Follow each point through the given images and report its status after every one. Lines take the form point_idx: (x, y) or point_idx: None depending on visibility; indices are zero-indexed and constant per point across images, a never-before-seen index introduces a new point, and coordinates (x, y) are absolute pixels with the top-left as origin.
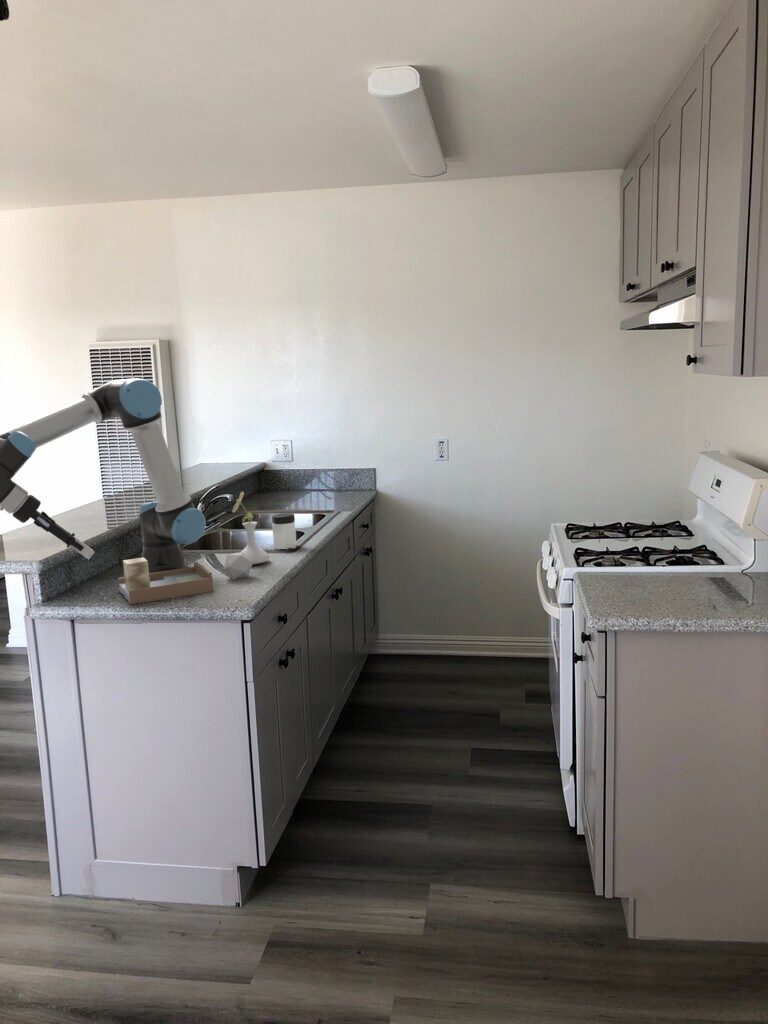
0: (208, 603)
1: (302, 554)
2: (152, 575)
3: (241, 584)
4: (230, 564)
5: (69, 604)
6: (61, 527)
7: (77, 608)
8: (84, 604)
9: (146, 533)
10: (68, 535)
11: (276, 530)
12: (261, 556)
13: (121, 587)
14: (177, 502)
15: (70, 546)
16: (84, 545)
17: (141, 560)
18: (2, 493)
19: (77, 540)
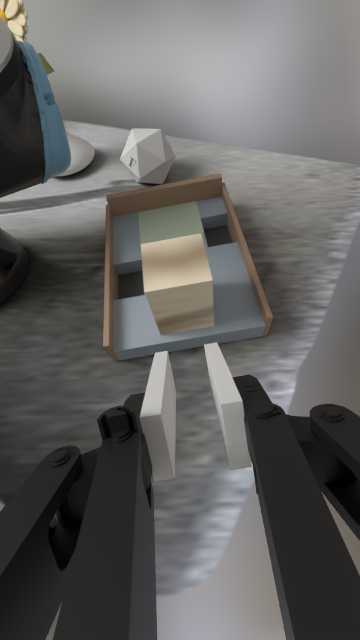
0: (314, 211)
1: (69, 124)
2: (111, 277)
3: (201, 175)
4: (164, 155)
5: (185, 505)
6: (19, 546)
7: (248, 477)
8: (208, 454)
9: None
10: None
11: None
12: (87, 141)
13: (149, 347)
14: None
15: (250, 460)
16: (228, 369)
17: (182, 246)
18: None
19: (238, 396)
